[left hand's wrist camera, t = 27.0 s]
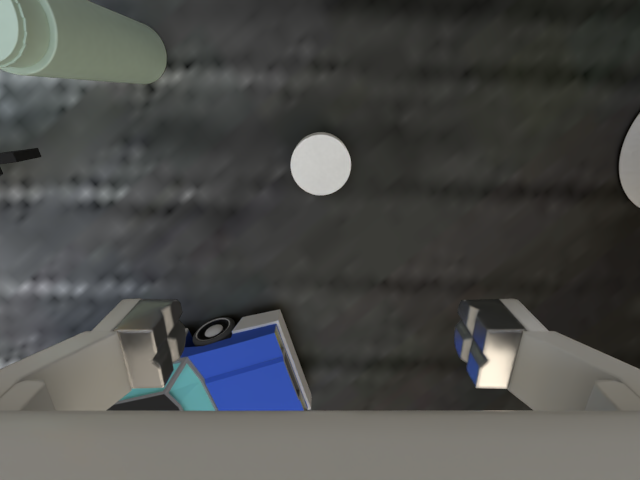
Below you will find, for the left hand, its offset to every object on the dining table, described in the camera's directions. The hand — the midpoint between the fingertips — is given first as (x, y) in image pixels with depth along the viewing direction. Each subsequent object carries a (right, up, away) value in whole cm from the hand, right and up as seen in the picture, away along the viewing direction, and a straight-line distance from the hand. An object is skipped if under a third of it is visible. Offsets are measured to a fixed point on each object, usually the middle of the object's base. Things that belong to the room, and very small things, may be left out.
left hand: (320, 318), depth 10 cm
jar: (-16, +19, +22) cm, 34 cm away
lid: (0, +9, +24) cm, 26 cm away
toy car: (-17, -14, +35) cm, 42 cm away
